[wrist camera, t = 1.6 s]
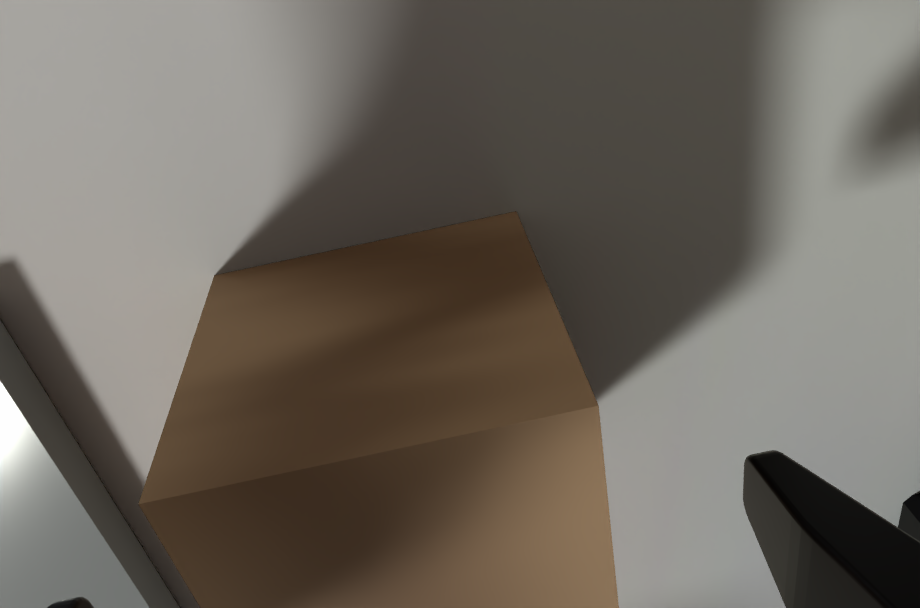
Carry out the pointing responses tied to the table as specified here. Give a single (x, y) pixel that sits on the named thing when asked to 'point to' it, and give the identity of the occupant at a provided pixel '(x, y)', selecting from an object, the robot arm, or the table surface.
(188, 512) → the walnut cube
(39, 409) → the slate coaster
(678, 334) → the table surface
